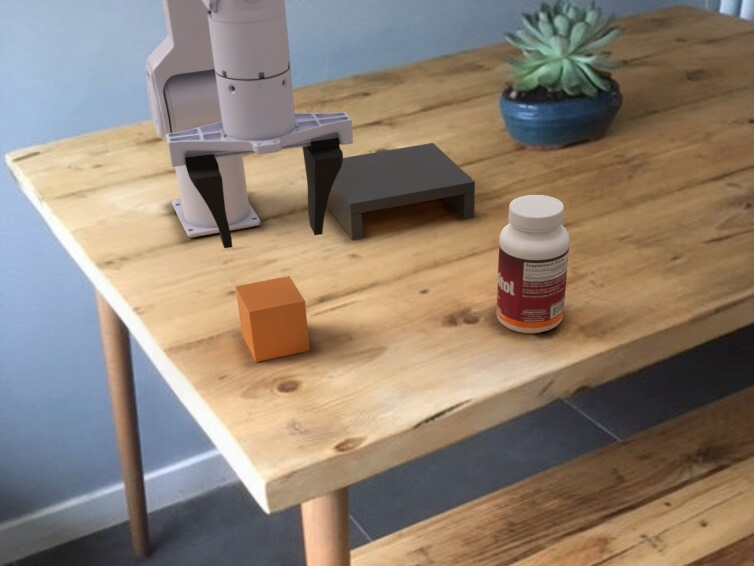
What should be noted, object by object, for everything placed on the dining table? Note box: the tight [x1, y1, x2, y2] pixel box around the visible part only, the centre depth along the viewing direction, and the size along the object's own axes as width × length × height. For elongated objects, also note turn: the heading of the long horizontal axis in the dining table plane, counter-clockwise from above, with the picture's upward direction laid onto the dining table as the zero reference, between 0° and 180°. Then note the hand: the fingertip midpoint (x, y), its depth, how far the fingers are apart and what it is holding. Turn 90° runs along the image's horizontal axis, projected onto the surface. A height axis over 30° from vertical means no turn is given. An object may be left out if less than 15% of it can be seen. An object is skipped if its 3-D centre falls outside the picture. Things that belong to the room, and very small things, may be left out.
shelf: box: [326, 142, 476, 241], centre depth 114 cm, size 12×14×4 cm
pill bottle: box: [496, 194, 571, 334], centre depth 93 cm, size 6×6×11 cm
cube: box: [234, 275, 311, 363], centre depth 93 cm, size 5×5×5 cm
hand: (271, 236), depth 88 cm, fingers open, 7 cm apart
